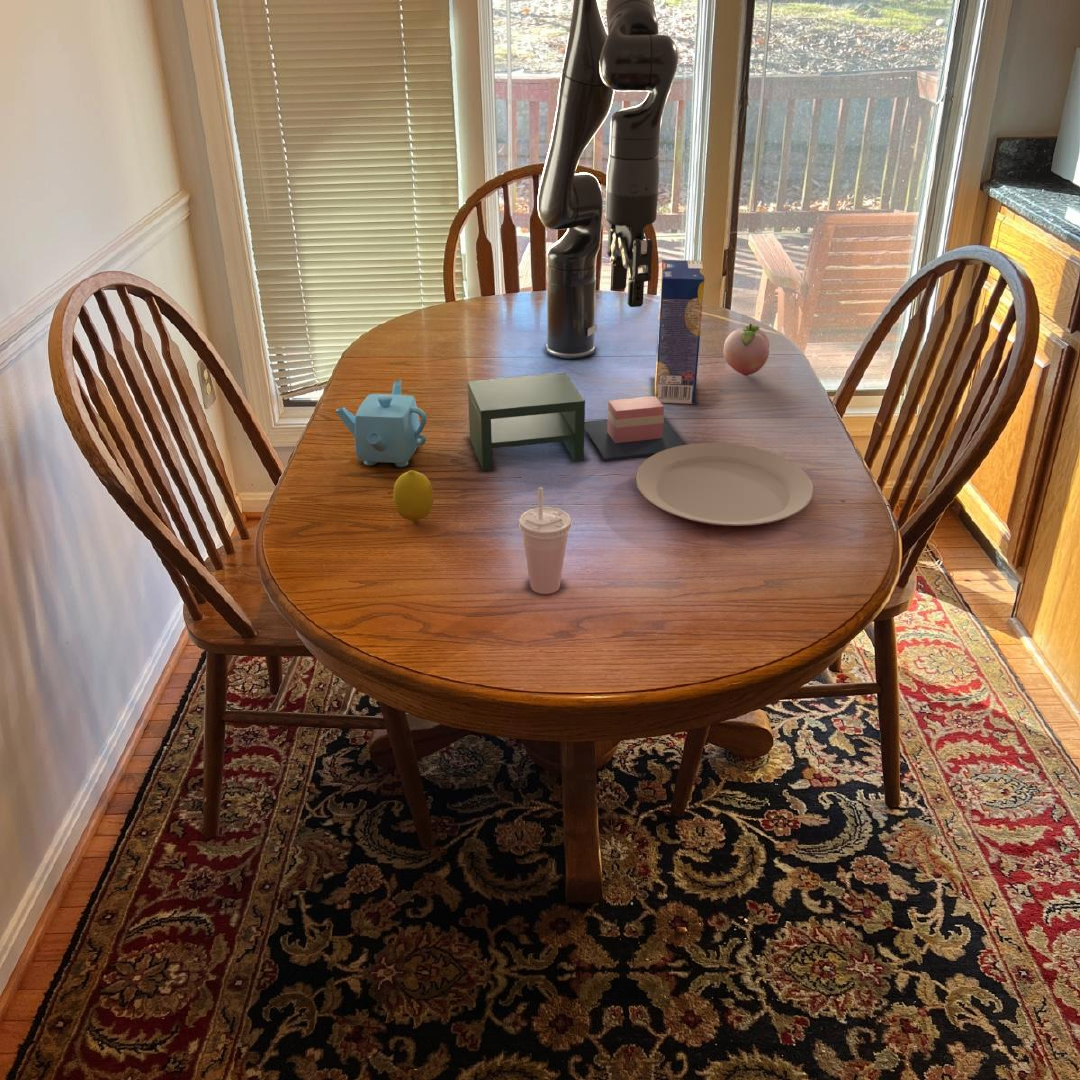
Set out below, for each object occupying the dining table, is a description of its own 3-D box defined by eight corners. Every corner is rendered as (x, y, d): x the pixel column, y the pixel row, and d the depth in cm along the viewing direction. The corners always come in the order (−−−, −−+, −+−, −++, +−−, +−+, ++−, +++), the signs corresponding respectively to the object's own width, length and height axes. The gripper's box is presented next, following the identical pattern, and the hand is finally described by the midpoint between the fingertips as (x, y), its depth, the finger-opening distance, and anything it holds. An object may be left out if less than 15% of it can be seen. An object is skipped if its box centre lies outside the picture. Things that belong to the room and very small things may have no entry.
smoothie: (518, 573, 130) (516, 476, 123) (567, 570, 130) (569, 474, 123) (521, 601, 125) (520, 501, 117) (573, 598, 125) (575, 499, 118)
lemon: (441, 515, 143) (438, 464, 139) (424, 534, 139) (421, 482, 134) (405, 509, 145) (401, 459, 140) (388, 527, 140) (383, 476, 136)
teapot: (417, 484, 151) (412, 422, 146) (325, 479, 153) (318, 418, 147) (440, 433, 167) (436, 375, 161) (357, 429, 168) (351, 372, 163)
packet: (606, 432, 165) (607, 400, 163) (653, 427, 167) (655, 395, 164) (614, 443, 162) (615, 411, 159) (662, 438, 163) (664, 406, 160)
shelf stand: (469, 438, 165) (467, 381, 160) (565, 428, 168) (565, 372, 163) (483, 471, 155) (480, 411, 150) (583, 460, 158) (585, 401, 153)
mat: (580, 424, 169) (580, 421, 169) (660, 416, 172) (660, 413, 172) (604, 461, 157) (604, 458, 157) (689, 451, 160) (689, 449, 160)
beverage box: (692, 380, 186) (701, 260, 174) (694, 404, 176) (704, 279, 165) (654, 378, 186) (661, 259, 175) (655, 402, 177) (662, 278, 166)
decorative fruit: (722, 365, 192) (727, 313, 187) (766, 368, 191) (772, 316, 186) (719, 383, 184) (724, 330, 179) (765, 386, 183) (771, 333, 178)
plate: (840, 528, 139) (842, 515, 138) (661, 544, 136) (661, 531, 135) (774, 448, 161) (775, 437, 160) (617, 461, 157) (618, 449, 156)
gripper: (673, 198, 141) (665, 310, 150) (641, 176, 153) (635, 281, 161) (621, 200, 140) (616, 314, 148) (594, 178, 151) (590, 284, 160)
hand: (626, 297), depth 155 cm, fingers open, 8 cm apart
